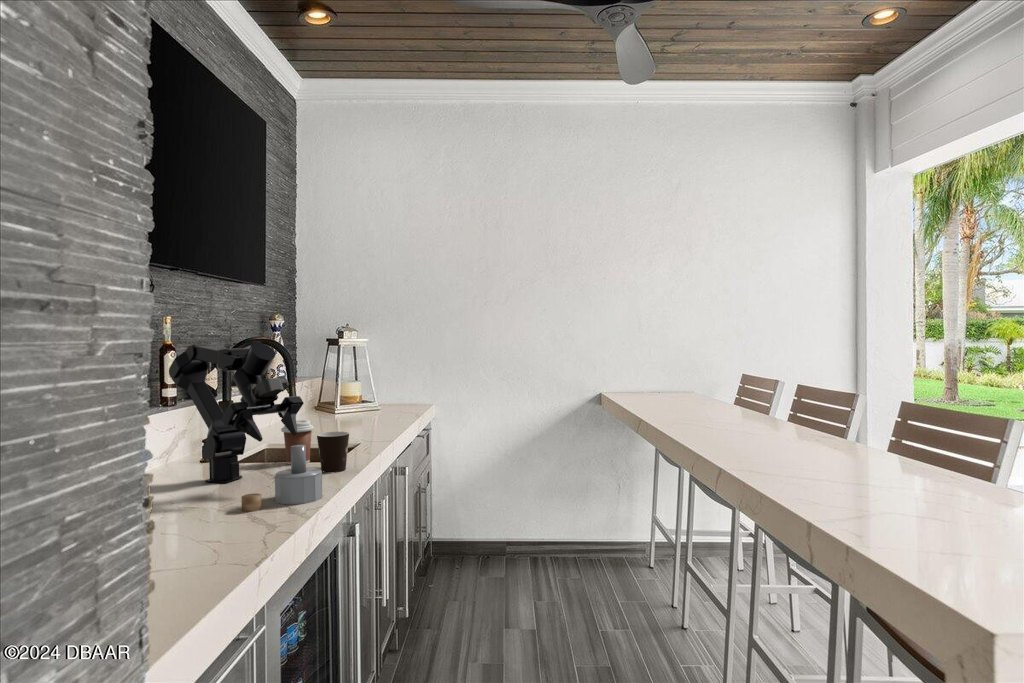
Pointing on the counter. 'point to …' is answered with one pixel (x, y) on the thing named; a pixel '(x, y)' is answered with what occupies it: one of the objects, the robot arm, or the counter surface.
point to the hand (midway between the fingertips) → (279, 437)
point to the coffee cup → (298, 438)
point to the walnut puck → (251, 502)
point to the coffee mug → (333, 450)
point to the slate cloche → (298, 480)
